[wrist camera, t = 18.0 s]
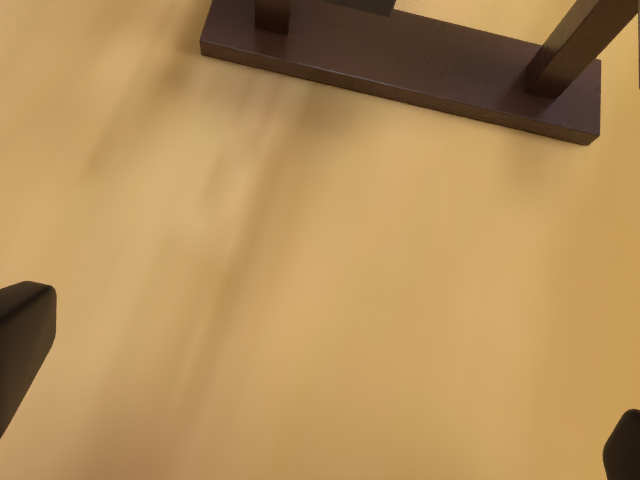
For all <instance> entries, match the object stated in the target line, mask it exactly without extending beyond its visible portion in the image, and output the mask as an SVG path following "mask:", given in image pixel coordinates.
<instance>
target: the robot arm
mask: <svg viewBox="0 0 640 480" xmlns="http://www.w3.org/2000/svg"><path fill="white" fill-rule="evenodd" d="M56 303H57V295H56V291H55V289H54V288H53V287H52V286H51V285H46V284H42V283H37V282H32V281H23V282H20V283H17V284H14V285H11V286H8V287H5V288H2V289H0V438H1V437H2V435H3V434H4V432H5V430H6V429H7V427H8V425H9V424H10V422H11V420H12V418H13V417H14V415H15V413H16V411H17V409H18V407H19V406H20V404H21V402H22V400H23V398H24V396H25V395H26V393H27V391H28V389H29V387H30V385H31V384H32V382H33V380H34V378H35V376H36V374H37V373H38V371H39V369H40V367H41V365H42V363H43V362H44V360H45V358H46V356H47V354H48V352H49V351H50V349H51V347H52V345H53V342H54V339H55V334H56ZM603 463H604V467H605V471H606V475H607V480H640V410H637V409H630V410H628V411H626V412H625V413H624V414H623V415H622V417H621V419H620V420H619V422H618V424H617V425H616V427H615V429H614V430H613V432H612V434H611V435H610V437H609V439H608V440H607V442H606V444H605V446H604V449H603Z"/></svg>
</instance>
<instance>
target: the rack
mask: <svg viewBox="0 0 640 480" xmlns="http://www.w3.org/2000/svg"><path fill="white" fill-rule="evenodd" d="M637 13H638V37H639V89H640V0H577V1H576V2H575V3H574V5H573V6H572V7H571V9H570V10H569V11H568V13H567V14H566V15H565V17H564V18H563V19H562V20H561V22H560V23H559V24H558V26H557V27H556V28H555V30H554V31H553V32H552V33H551V35H550V36H549V37H548V39H547V40H546V41H545V43H544V44H543V45H538V44H534V43H530V42H526V41H522V40H518V39H514V38H510V37H506V36H501V35H497V34H493V33H489V32H485V31H481V30H477V29H473V28H469V27H465V26H461V25H457V24H452V23H448V22H444V21H440V20H436V19H432V18H428V17H424V16H420V15H416V14H412V13H408V12H404V11H399V10H395V9H393V11H392V14H391V16H390V17H389V18H387V17H383V16H379V15H374V14H370V13H366V12H362V11H358V10H354V9H350V8H345V7H341V6H337V5H333V4H329V3H325V2H321V1H316V0H212V3H211V6H210V10H209V13H208V16H207V19H206V22H205V25H204V28H203V31H202V34H201V38H200V48H201V54H203V55H207V56H211V57H216V58H220V59H224V60H228V61H233V62H237V63H241V64H245V65H250V66H254V67H258V68H262V69H267V70H271V71H275V72H279V73H283V74H288V75H292V76H296V77H300V78H305V79H309V80H313V81H317V82H322V83H326V84H330V85H334V86H339V87H343V88H347V89H351V90H355V91H360V92H364V93H368V94H372V95H377V96H381V97H385V98H389V99H394V100H398V101H402V102H406V103H411V104H415V105H419V106H423V107H427V108H432V109H436V110H440V111H444V112H449V113H453V114H457V115H461V116H466V117H470V118H474V119H478V120H483V121H487V122H491V123H495V124H499V125H504V126H508V127H512V128H516V129H521V130H525V131H529V132H533V133H538V134H542V135H546V136H550V137H555V138H559V139H563V140H567V141H571V142H576V143H580V144H584V145H589V144H591V143H592V142H593V141H594V140H595V139H597V138H598V137H599V136H600V106H601V60H599V59H595V58H596V57H597V56H598V55H599V54H600V53H601V52H602V51H603V50H604V49H605V48H606V46H607V45H608V44H609V43H610V42H611V41H612V40H613V39H614V38H615V37H616V36H617V35H618V34H619V33H620V31H621V30H622V29H623V28H624V27H625V26H626V25H627V24H628V23H629V22H630V21H631V20H632V19H633V18H634V17H635V15H636V14H637Z"/></svg>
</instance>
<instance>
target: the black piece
mask: <svg viewBox="0 0 640 480" xmlns="http://www.w3.org/2000/svg"><path fill="white" fill-rule="evenodd" d="M316 1H321V2H325V3H329V4H333V5H337V6H341V7H345V8H350V9H354V10H358V11H362V12H366V13H370V14H374V15H379V16H383V17H387V18H389V17H390V16H391V14H392V11H393V8H394V5H395V2H396V0H316Z"/></svg>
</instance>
